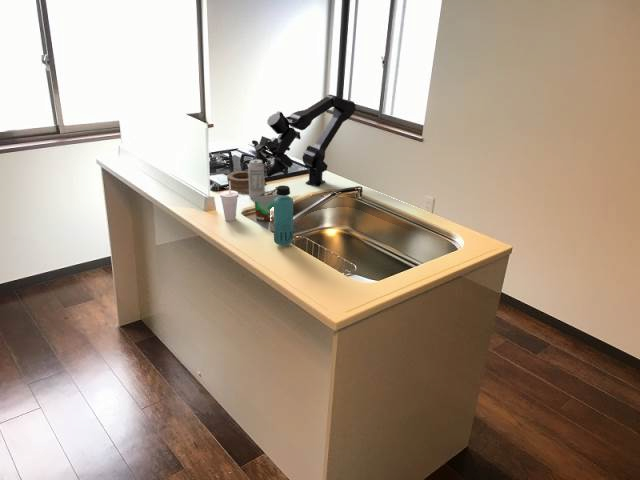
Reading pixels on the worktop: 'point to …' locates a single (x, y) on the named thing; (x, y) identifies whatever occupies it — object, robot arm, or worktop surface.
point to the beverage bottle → (283, 217)
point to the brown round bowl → (239, 181)
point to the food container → (264, 205)
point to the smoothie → (229, 203)
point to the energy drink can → (256, 178)
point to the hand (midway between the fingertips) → (261, 173)
